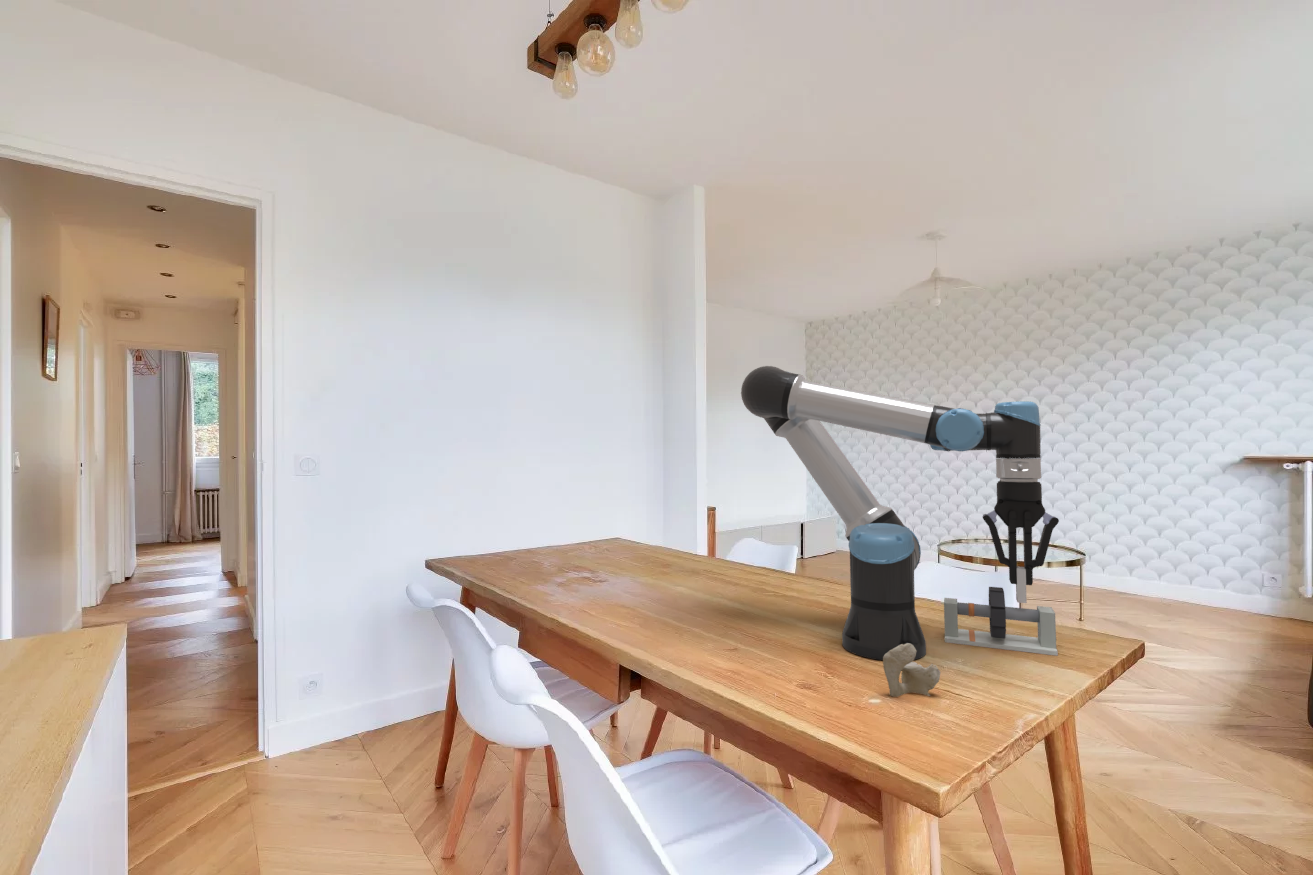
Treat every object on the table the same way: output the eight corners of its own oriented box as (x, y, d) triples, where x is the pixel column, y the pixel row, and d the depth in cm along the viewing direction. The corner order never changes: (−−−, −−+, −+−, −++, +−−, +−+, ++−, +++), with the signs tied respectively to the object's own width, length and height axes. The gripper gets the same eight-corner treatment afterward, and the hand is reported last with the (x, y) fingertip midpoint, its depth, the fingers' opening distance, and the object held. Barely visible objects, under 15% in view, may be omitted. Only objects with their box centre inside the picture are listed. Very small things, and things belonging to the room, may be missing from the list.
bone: (929, 671, 98) (935, 629, 93) (943, 706, 92) (951, 662, 87) (876, 673, 99) (879, 631, 94) (887, 708, 93) (891, 665, 88)
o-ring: (991, 641, 113) (990, 593, 114) (989, 628, 122) (988, 583, 122) (1006, 643, 112) (1005, 594, 113) (1002, 629, 121) (1001, 584, 121)
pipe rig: (944, 642, 118) (943, 604, 118) (945, 631, 125) (944, 595, 125) (1057, 655, 109) (1056, 615, 109) (1051, 643, 116) (1050, 605, 116)
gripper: (981, 480, 116) (984, 601, 115) (1061, 481, 110) (1064, 609, 109) (980, 479, 122) (982, 593, 122) (1055, 479, 116) (1058, 600, 116)
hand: (1021, 601), depth 115 cm, fingers closed
